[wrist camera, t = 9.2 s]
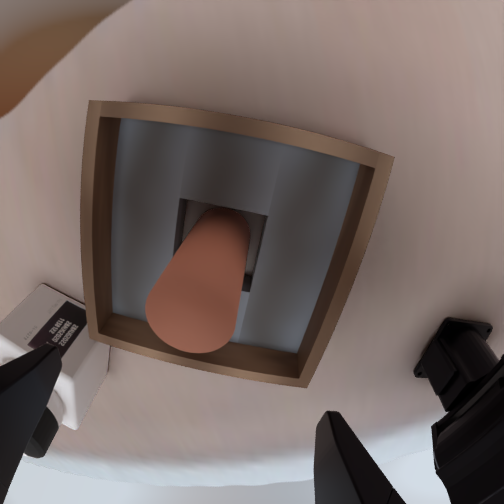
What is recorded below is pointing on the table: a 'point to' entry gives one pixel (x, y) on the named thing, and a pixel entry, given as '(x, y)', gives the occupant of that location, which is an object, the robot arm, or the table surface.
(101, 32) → the table surface
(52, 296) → the container
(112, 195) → the box
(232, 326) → the peg
